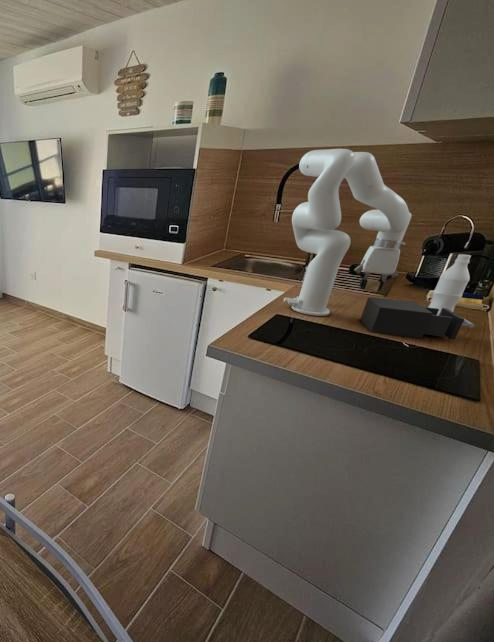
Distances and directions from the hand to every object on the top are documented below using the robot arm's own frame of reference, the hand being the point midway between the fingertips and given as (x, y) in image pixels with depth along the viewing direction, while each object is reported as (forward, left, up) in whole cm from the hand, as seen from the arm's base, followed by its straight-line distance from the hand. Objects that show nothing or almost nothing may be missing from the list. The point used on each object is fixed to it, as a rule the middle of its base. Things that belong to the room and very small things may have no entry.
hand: (369, 289), depth 150 cm
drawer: (+12, -26, -6) cm, 29 cm away
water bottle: (+19, -11, -8) cm, 23 cm away
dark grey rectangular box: (+1, -26, -7) cm, 27 cm away
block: (0, 0, 0) cm, 0 cm away
